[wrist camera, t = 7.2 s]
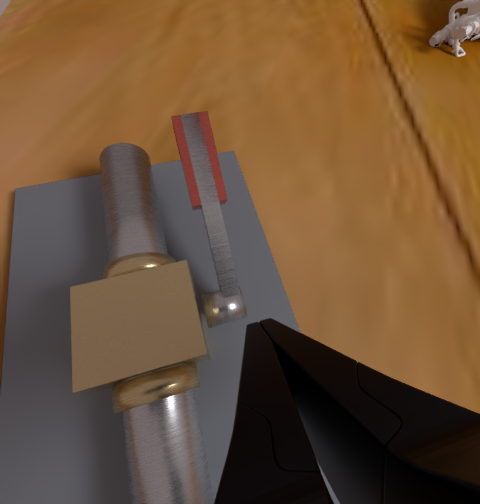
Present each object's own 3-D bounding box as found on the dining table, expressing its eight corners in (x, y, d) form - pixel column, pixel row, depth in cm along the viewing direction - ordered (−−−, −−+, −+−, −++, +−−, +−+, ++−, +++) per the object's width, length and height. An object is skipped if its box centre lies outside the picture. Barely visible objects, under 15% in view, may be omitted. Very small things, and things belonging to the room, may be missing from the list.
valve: (262, 585, 13) (281, 692, 8) (134, 643, 12) (82, 797, 8) (169, 174, 23) (157, 127, 19) (97, 187, 22) (66, 140, 18)
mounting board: (375, 554, 14) (386, 566, 13) (-7, 733, 11) (-28, 765, 10) (233, 158, 25) (233, 150, 24) (24, 196, 22) (15, 188, 21)
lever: (256, 319, 15) (207, 109, 15) (209, 332, 15) (157, 116, 14) (249, 311, 17) (206, 126, 17) (207, 323, 17) (162, 132, 16)
